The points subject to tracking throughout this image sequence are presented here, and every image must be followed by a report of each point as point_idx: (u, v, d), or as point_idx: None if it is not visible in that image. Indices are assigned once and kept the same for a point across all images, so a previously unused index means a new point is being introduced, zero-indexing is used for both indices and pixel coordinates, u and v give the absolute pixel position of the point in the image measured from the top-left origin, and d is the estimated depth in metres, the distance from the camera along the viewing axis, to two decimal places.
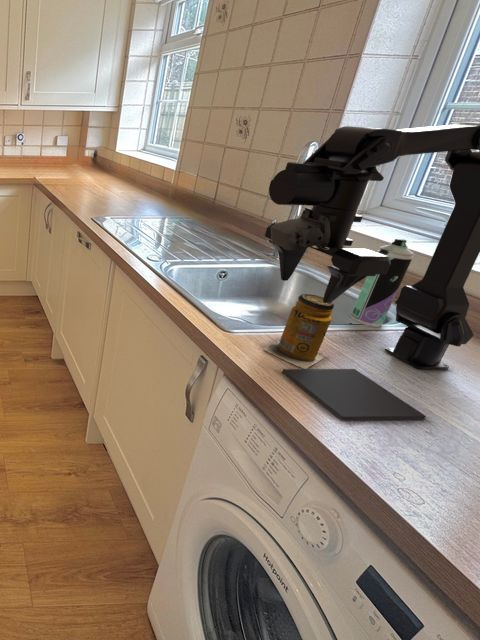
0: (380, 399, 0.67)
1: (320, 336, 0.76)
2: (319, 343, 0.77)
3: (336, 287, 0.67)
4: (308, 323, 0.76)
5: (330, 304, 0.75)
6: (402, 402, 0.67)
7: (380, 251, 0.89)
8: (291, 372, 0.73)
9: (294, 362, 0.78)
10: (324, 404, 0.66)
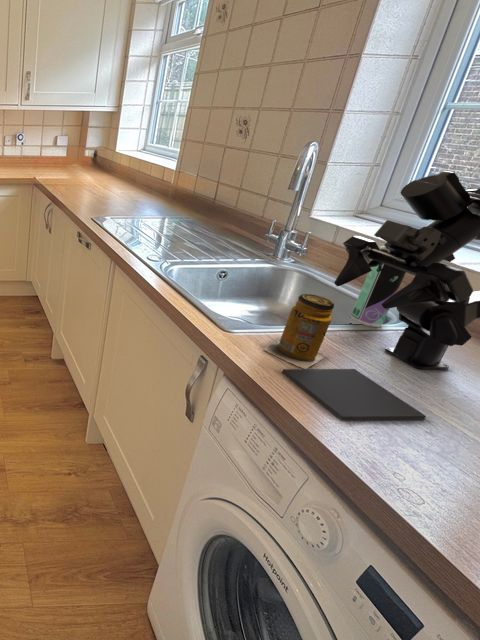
0: (380, 399, 0.67)
1: (320, 336, 0.76)
2: (319, 343, 0.77)
3: (407, 295, 0.69)
4: (308, 323, 0.76)
5: (330, 304, 0.75)
6: (402, 402, 0.67)
7: None
8: (291, 372, 0.73)
9: (294, 362, 0.78)
10: (324, 404, 0.66)
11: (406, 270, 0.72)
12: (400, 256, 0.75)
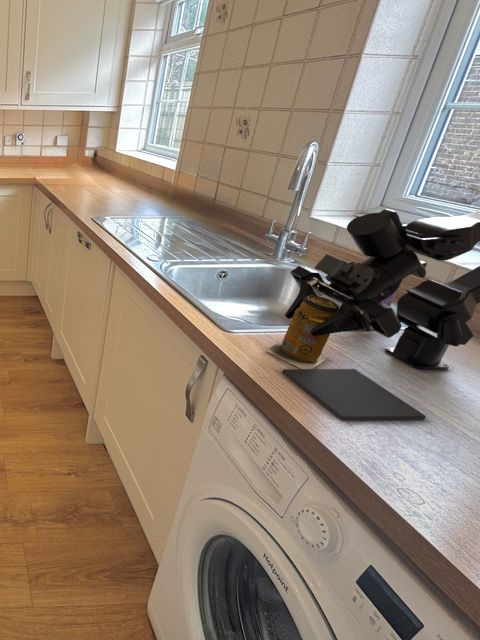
0: (380, 399, 0.67)
1: (324, 338, 0.75)
2: (322, 345, 0.76)
3: (333, 324, 0.73)
4: (312, 325, 0.75)
5: (335, 306, 0.74)
6: (402, 402, 0.67)
7: None
8: (291, 372, 0.73)
9: (296, 363, 0.77)
10: (324, 404, 0.66)
11: (336, 299, 0.76)
12: (340, 288, 0.77)
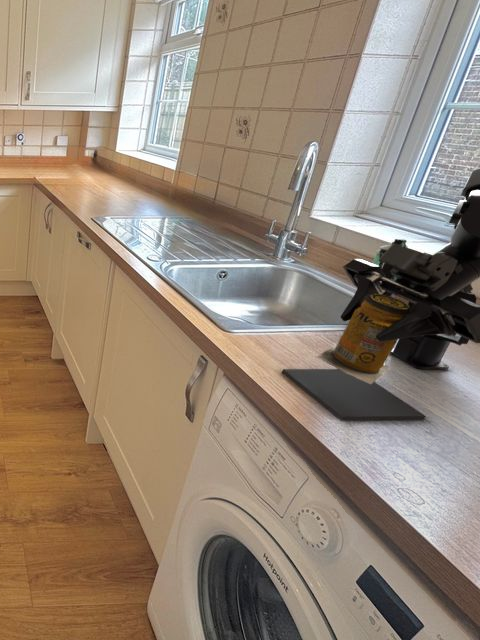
0: (380, 399, 0.67)
1: (391, 345, 0.63)
2: (388, 353, 0.64)
3: (405, 327, 0.61)
4: (377, 330, 0.63)
5: (406, 308, 0.62)
6: (402, 402, 0.67)
7: (380, 251, 0.89)
8: (291, 372, 0.73)
9: (355, 374, 0.65)
10: (324, 404, 0.66)
11: (405, 297, 0.64)
12: (408, 284, 0.65)
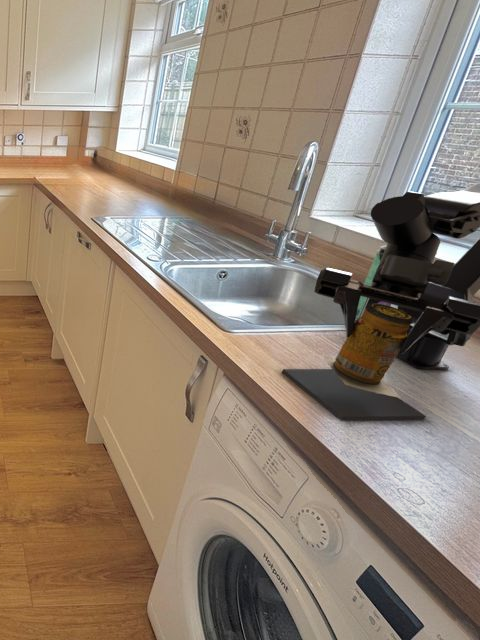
0: (380, 399, 0.67)
1: None
2: None
3: (420, 335, 0.61)
4: (396, 343, 0.62)
5: (407, 314, 0.63)
6: (402, 402, 0.67)
7: (380, 251, 0.89)
8: (291, 372, 0.73)
9: (381, 390, 0.64)
10: (324, 404, 0.66)
11: (390, 301, 0.65)
12: (383, 287, 0.66)
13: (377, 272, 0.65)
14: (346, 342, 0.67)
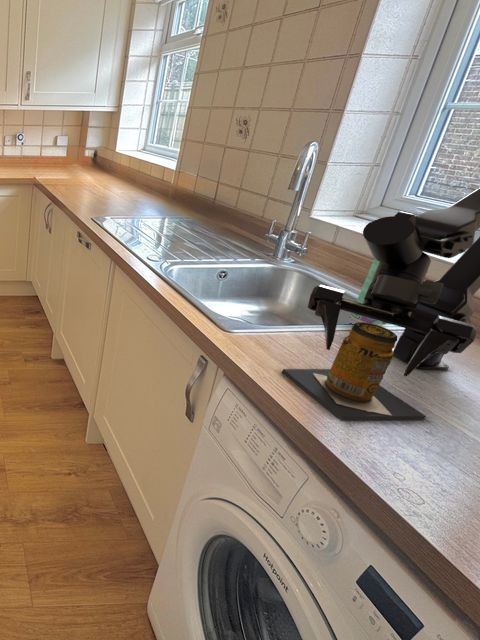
0: (380, 399, 0.67)
1: None
2: None
3: (425, 358, 0.61)
4: (382, 361, 0.64)
5: (392, 333, 0.64)
6: (402, 402, 0.67)
7: None
8: (291, 372, 0.73)
9: (372, 408, 0.65)
10: (324, 404, 0.66)
11: (394, 323, 0.65)
12: (374, 305, 0.67)
13: (369, 290, 0.66)
14: (335, 361, 0.69)
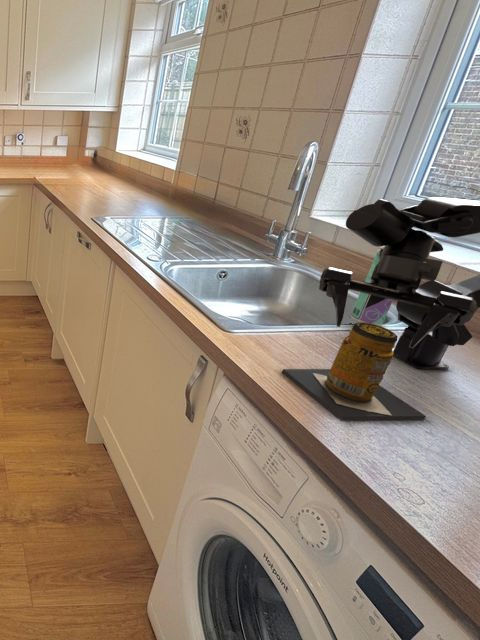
0: (380, 399, 0.67)
1: None
2: None
3: (429, 330, 0.66)
4: (382, 361, 0.64)
5: (392, 333, 0.64)
6: (402, 402, 0.67)
7: (380, 251, 0.89)
8: (291, 372, 0.73)
9: (372, 408, 0.65)
10: (324, 404, 0.66)
11: (400, 300, 0.70)
12: (381, 284, 0.73)
13: (375, 270, 0.72)
14: (335, 361, 0.69)
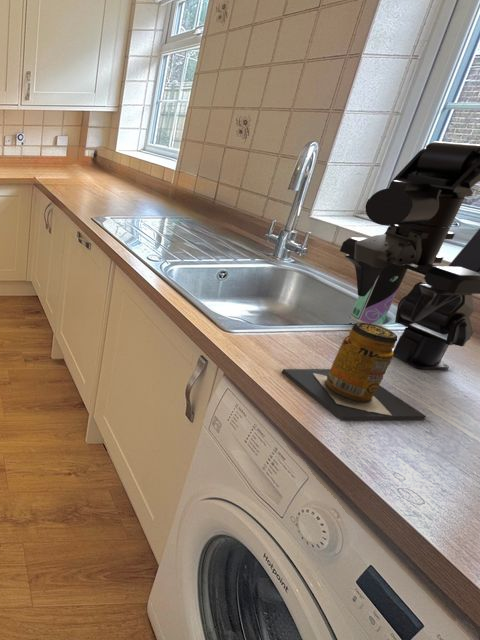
0: (380, 399, 0.67)
1: None
2: None
3: (427, 306, 0.65)
4: (382, 361, 0.64)
5: (392, 333, 0.64)
6: (402, 402, 0.67)
7: None
8: (291, 372, 0.73)
9: (372, 408, 0.65)
10: (324, 404, 0.66)
11: None
12: None
13: None
14: (335, 361, 0.69)
